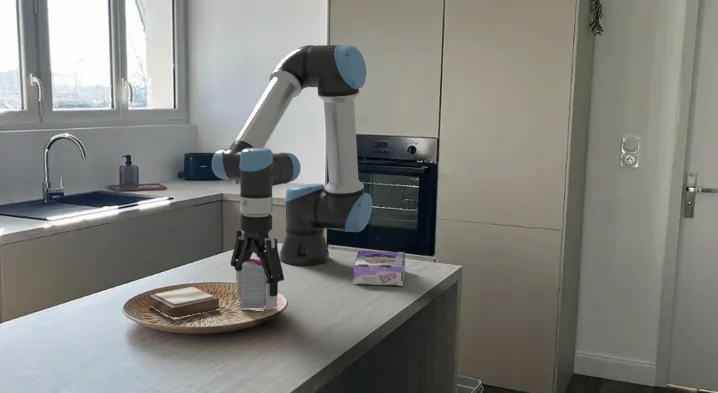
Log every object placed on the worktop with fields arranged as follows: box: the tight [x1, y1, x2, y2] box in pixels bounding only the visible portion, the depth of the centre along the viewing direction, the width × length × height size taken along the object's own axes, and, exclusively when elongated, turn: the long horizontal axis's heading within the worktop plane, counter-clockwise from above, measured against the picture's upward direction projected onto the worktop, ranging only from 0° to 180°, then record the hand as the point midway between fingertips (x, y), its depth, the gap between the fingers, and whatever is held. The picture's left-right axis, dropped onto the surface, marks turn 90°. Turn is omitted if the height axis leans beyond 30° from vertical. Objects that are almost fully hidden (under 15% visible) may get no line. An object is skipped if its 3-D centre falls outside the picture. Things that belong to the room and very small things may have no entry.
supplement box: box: [240, 258, 268, 309], centre depth 172 cm, size 6×6×12 cm
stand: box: [148, 286, 220, 318], centre depth 171 cm, size 12×12×3 cm
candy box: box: [352, 250, 406, 287], centre depth 201 cm, size 14×6×16 cm
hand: (256, 302), depth 173 cm, fingers open, 12 cm apart
